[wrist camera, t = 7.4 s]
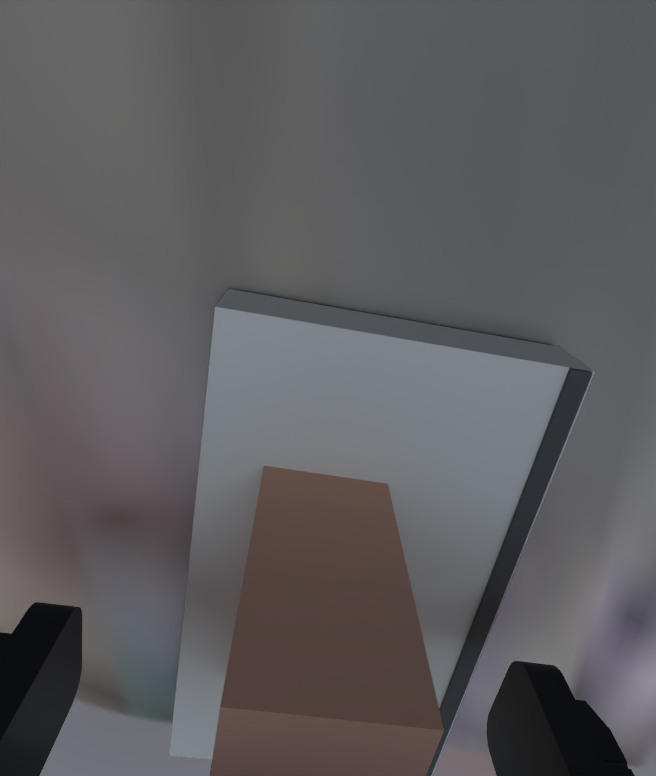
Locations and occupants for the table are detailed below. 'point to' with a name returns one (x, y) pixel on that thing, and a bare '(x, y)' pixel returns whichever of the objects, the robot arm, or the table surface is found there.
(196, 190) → the table surface
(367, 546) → the white plate with block
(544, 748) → the robot arm
